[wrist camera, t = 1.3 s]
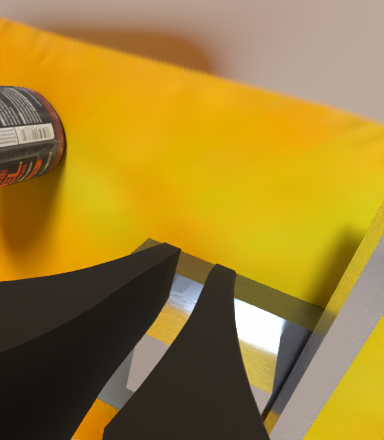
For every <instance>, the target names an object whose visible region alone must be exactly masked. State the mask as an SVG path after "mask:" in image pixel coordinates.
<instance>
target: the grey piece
mask: <svg viewBox="0 0 384 440" xmlns="http://www.w3.org/2000/svg"><path fill="white" fill-rule="evenodd" d="M158 244H161V243H159V242H157V241H155V240H152V239H150V238H149V239H148V240H146V241H145V242H144V243H143V244H142V245H141V246H139V247H138V248H137V249H136V250H135V251H134V252H132V253H131V254H133V253H136V252H139V251H142V250H145V249H147V248H150V247H153V246H156V245H158ZM214 266H215V265H214V264H211V263H209V262H206V261H204V260H201V259H199V258H197V257H194V256H192V255H189V254H187V253H184V252H182V251H181V252H180V256H179V260H178V264H177V268H176V272H175V276H174V280H173V284H172V288H171V289H172V290H174V291H176V292H179V293H181V294H183V295H186V296H188V297H190V298H192V299H195V300H198V297H199V295H200V293H201V290H202V288H203V286H204V283H205V281H206V279H207V277H208V274H209V272H210V271H211V269H212V268H213V267H214ZM234 305H235V317H236V318H238V319H240V320H243V321H245V322H247V323H250V324H252V325H254V326H256V327H259V328H261V329H263V330H266V331H268V332H270V333H272V334H275V335H277V336H279V337H280V342H279V348H278V355H277V362H276V369H275V375H274V382H273V389H272V395H271V397H270V399H269V401H268V403H267V404H266V406H265V409H267V410H271V408H272V407H273V405H274V403H275V401H276V399H277V397H278V395H279V394H280V392H281V390H282V388H283V386H284V384H285V382H286V381H287V379H288V377H289V375H290V373H291V371H292V369H293V368H294V366H295V364H296V362H297V360H298V358H299V356H300V355H301V353H302V351H303V349H304V347H305V345H306V343H307V342H308V340H309V338H310V336H311V334H312V332H313V330H314V329H315V327H316V325H317V323H318V321H319V319H320V317H321V316H322V314H323V312H324V310H325V309H322V308H320V307H317V306H315V305H312V304H310V303H308V302H305V301H303V300H300V299H298V298H295V297H293V296H290V295H288V294H285V293H283V292H280V291H278V290H275V289H273V288H271V287H268V286H266V285H263V284H261V283H258V282H256V281H253V280H251V279H248V278H246V277H243V276H241V275H238V274H237V277H236V280H235V287H234Z"/></svg>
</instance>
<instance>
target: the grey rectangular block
mask: <svg viewBox="0 0 384 440" xmlns="http://www.w3.org/2000/svg"><path fill="white" fill-rule="evenodd" d="M196 302H197V300H195V299H192V298H190V297H188V296H186V295H183V294H181V293H179V292H176V291H174V290H172V289H171V292H170V296H169V298H168V300H167V302H166V304H165V305H164V307H163V309H162V310H161V312H160V314H159V315H158V317H157V319H156V320H155V322H154V323H153V324H152V326H151V327H150V328H149V330H148V331H147V332H146V333H145V335H144V336H143V337H142V338H141V340H140V341H139V342H138V344H137V345H136V346H135V349H134V353H133V358H132V363H131V367H130V372H129V377H128V381H127V386H126V388H127V389H129V390H131V391H133V392H135V391H136V390H137V389H138V388H139V387H140V385H141V384H142V383H143V382H144V380H145V379H146V378H147V376H148V375H149V374H150V372H151V371H152V370H153V368H154V367H155V366H156V364H157V363H158V362H159V360H160V359H161V358H162V356H163V355H164V354H165V352H166V351H167V349H168V348H169V346H170V345H171V344H172V342H173V341H174V339H175V338H176V337H177V335H178V334H179V332H180V331H181V329H182V327H183V326H184V324H185V323H186V321H187V320H188V318H189V317H190V315H191V313H192V311H193V309H194V307H195V304H196ZM235 318H236V317H235ZM236 327H237V333H238V339H239V344H240V349H241V354H242V358H243V362H244V366H245V370H246V373H247V377H248V380H249V383H250V387H251V390H252V392H253V395H254V398H255V401H256V403H257V406H258V409H259V412H260V414H262V412H263V410H264V408H265V406H266V404H267V403H268V401H269V399H270V397H271V395H272V389H273V382H274V375H275V369H276V362H277V355H278V348H279V342H280V337H279V336H277V335H275V334H272V333H270V332H268V331H266V330H263V329H261V328H259V327H256V326H254V325H252V324H250V323H247V322H245V321H243V320H240V319H238V318H236Z"/></svg>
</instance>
